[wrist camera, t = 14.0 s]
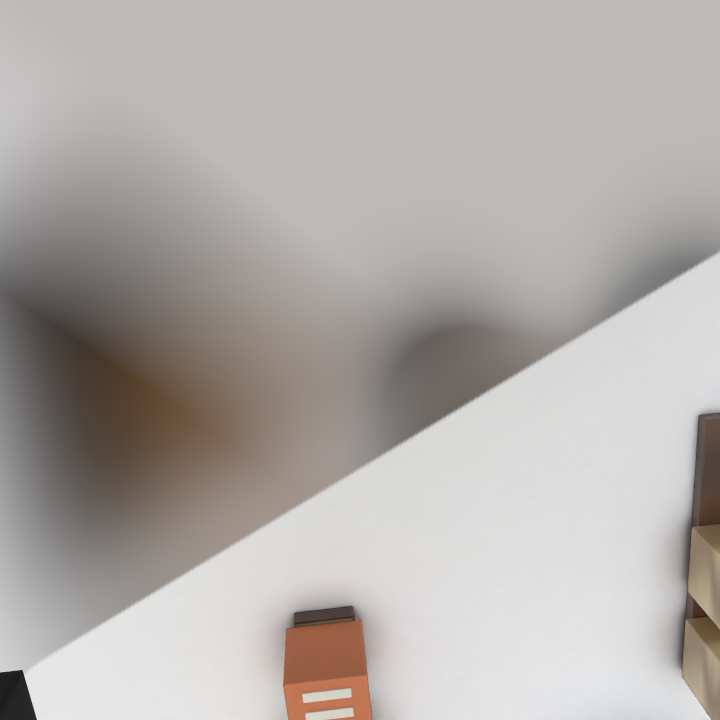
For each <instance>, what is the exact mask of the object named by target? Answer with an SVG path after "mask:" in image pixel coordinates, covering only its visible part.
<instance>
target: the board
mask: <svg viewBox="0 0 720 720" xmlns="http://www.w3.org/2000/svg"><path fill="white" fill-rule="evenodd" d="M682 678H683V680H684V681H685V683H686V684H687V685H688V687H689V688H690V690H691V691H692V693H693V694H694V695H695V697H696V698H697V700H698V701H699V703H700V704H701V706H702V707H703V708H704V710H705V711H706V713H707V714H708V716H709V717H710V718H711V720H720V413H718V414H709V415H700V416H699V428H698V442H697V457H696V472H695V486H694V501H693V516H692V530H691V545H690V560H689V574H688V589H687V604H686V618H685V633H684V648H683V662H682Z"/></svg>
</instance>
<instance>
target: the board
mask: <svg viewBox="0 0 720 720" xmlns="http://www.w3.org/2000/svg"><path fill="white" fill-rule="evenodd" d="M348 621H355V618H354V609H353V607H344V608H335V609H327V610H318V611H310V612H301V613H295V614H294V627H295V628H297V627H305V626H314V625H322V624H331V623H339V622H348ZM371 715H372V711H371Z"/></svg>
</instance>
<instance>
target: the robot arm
mask: <svg viewBox="0 0 720 720" xmlns="http://www.w3.org/2000/svg"><path fill="white" fill-rule="evenodd" d="M0 720H37V719H36V715H35V712H34V708H33V705H32V701H31V698H30V695H29V691H28V688H27V684H26V681H25V677H24V674H23V671H22V670H19V671H11V672H1V673H0Z"/></svg>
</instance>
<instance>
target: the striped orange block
mask: <svg viewBox="0 0 720 720" xmlns="http://www.w3.org/2000/svg"><path fill="white" fill-rule="evenodd" d="M283 687H284V694H285V700H286V707H287V714H288V720H372V715H371V705H370V696H369V686H368V676H367V667H366V657H365V647H364V637H363V628H362V621H361V620H356V621H348V622H339V623H331V624H322V625H314V626H305V627H297V628H288V629H286V644H285V662H284V680H283Z"/></svg>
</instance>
